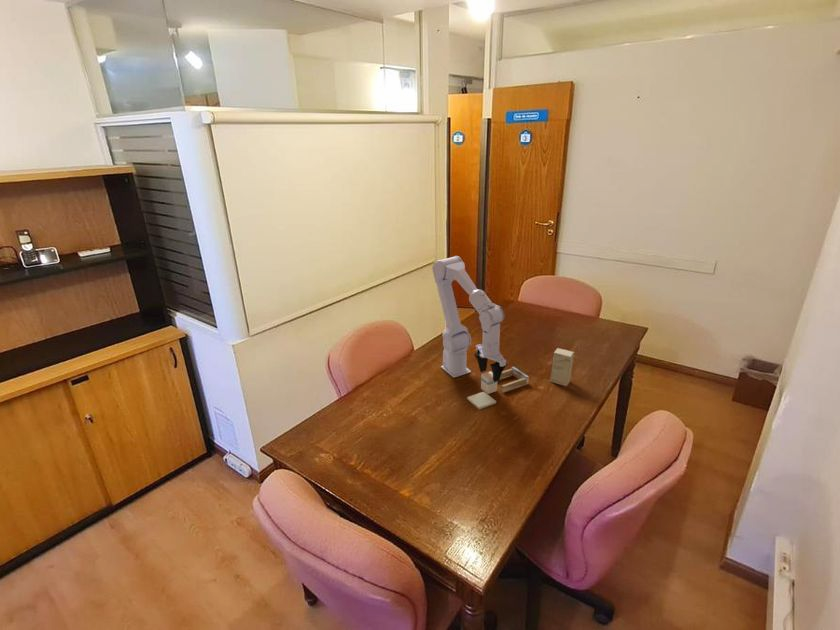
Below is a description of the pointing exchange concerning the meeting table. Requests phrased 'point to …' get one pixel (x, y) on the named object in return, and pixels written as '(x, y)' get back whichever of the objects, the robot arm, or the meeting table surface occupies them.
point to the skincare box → (562, 366)
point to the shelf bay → (515, 384)
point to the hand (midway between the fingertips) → (489, 375)
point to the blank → (488, 383)
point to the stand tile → (481, 400)
